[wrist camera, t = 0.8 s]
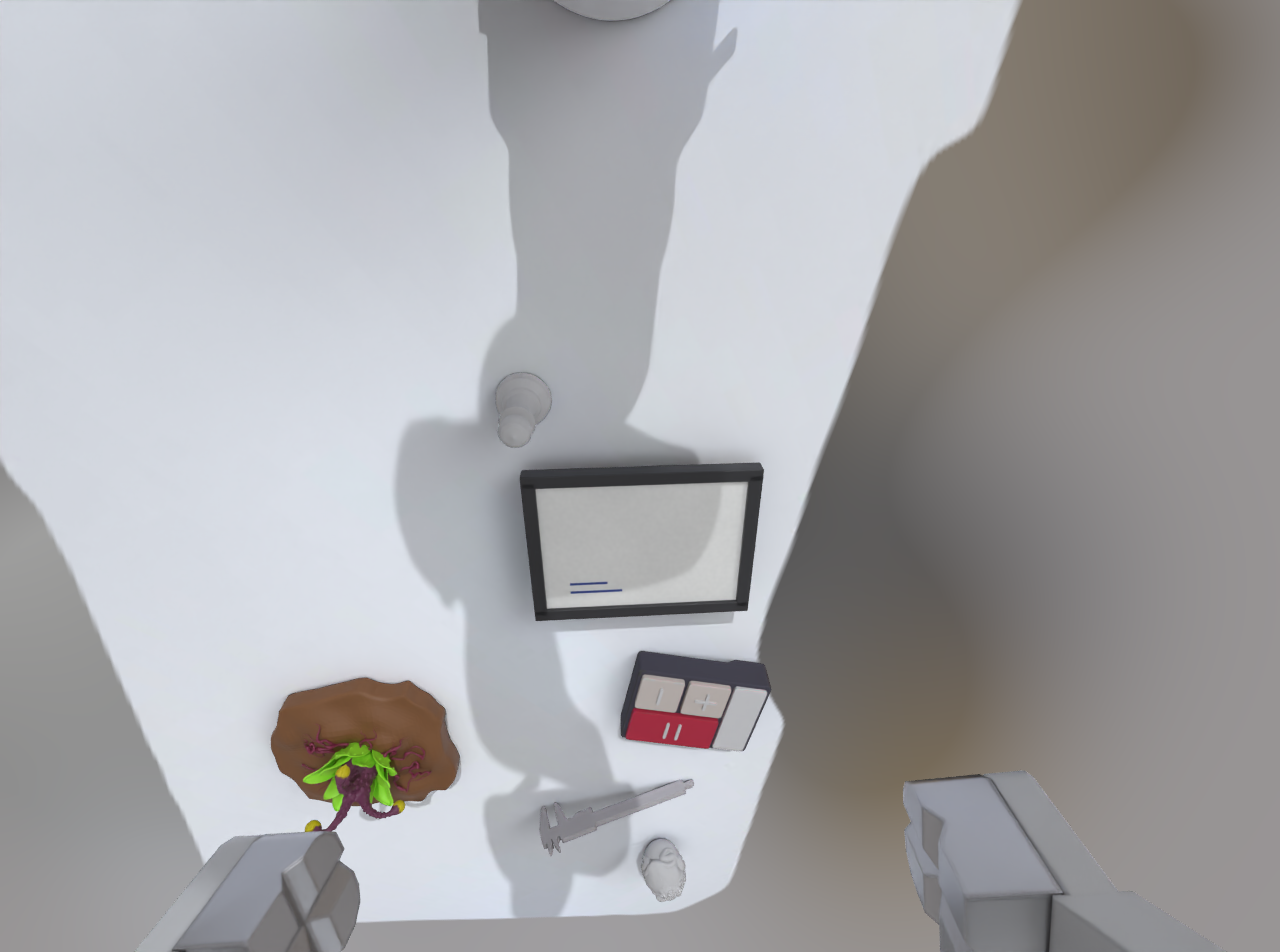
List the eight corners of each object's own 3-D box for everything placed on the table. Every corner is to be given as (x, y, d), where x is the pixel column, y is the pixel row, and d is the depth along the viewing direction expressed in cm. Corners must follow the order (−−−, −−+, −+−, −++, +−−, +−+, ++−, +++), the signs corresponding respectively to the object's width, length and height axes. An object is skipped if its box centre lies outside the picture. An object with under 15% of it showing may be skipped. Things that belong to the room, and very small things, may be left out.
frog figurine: (652, 860, 86) (657, 914, 80) (630, 837, 83) (633, 892, 77) (690, 846, 85) (697, 900, 79) (668, 823, 82) (675, 877, 76)
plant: (253, 685, 64) (192, 781, 54) (435, 670, 65) (408, 762, 55) (310, 796, 74) (267, 895, 64) (467, 782, 74) (449, 878, 65)
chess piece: (562, 391, 50) (557, 430, 43) (533, 432, 52) (524, 476, 45) (513, 360, 49) (500, 396, 42) (485, 404, 50) (468, 445, 43)
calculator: (639, 675, 62) (774, 693, 64) (638, 645, 66) (766, 663, 68) (619, 743, 67) (745, 758, 69) (620, 712, 71) (739, 727, 73)
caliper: (543, 809, 78) (539, 858, 73) (541, 804, 78) (537, 854, 72) (693, 782, 78) (701, 830, 72) (692, 777, 77) (700, 825, 72)
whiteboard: (523, 459, 53) (519, 477, 50) (754, 452, 54) (764, 469, 51) (538, 598, 61) (535, 621, 58) (740, 588, 62) (747, 610, 59)
